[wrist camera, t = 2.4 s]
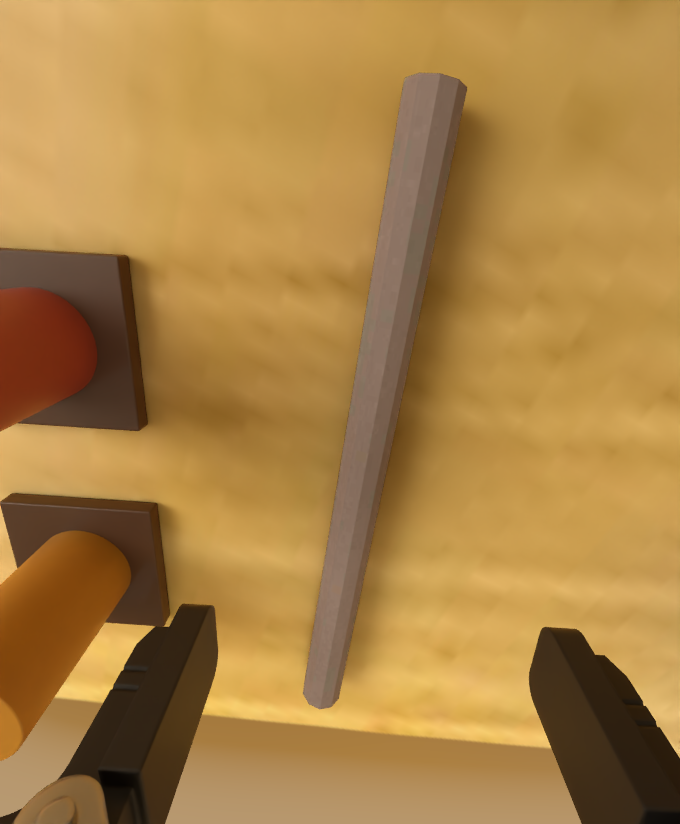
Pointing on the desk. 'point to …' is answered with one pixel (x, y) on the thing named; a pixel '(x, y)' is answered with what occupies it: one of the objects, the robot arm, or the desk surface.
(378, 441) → the metal rod
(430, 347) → the desk surface
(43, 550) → the ochre post
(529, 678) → the robot arm
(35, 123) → the desk surface
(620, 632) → the desk surface
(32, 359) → the red peg stand
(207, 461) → the desk surface
